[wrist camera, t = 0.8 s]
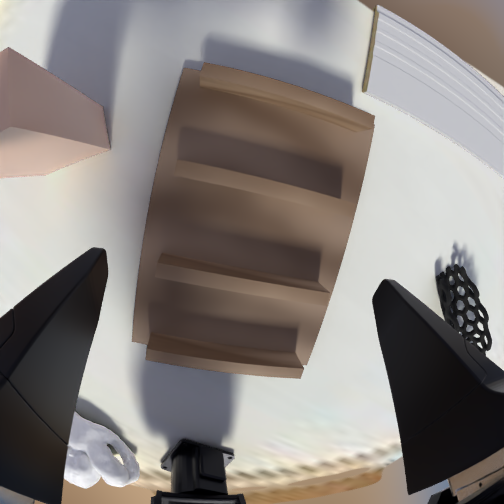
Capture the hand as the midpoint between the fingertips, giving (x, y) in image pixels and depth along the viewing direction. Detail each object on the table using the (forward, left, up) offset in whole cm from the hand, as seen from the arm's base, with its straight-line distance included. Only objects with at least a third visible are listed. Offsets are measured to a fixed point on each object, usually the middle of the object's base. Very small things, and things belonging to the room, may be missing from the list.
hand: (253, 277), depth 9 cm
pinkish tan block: (-1, +13, -14) cm, 19 cm away
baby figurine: (-28, +1, -14) cm, 31 cm away
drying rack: (0, -2, -14) cm, 14 cm away
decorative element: (+1, -31, -14) cm, 34 cm away
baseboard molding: (+25, -17, -14) cm, 34 cm away
